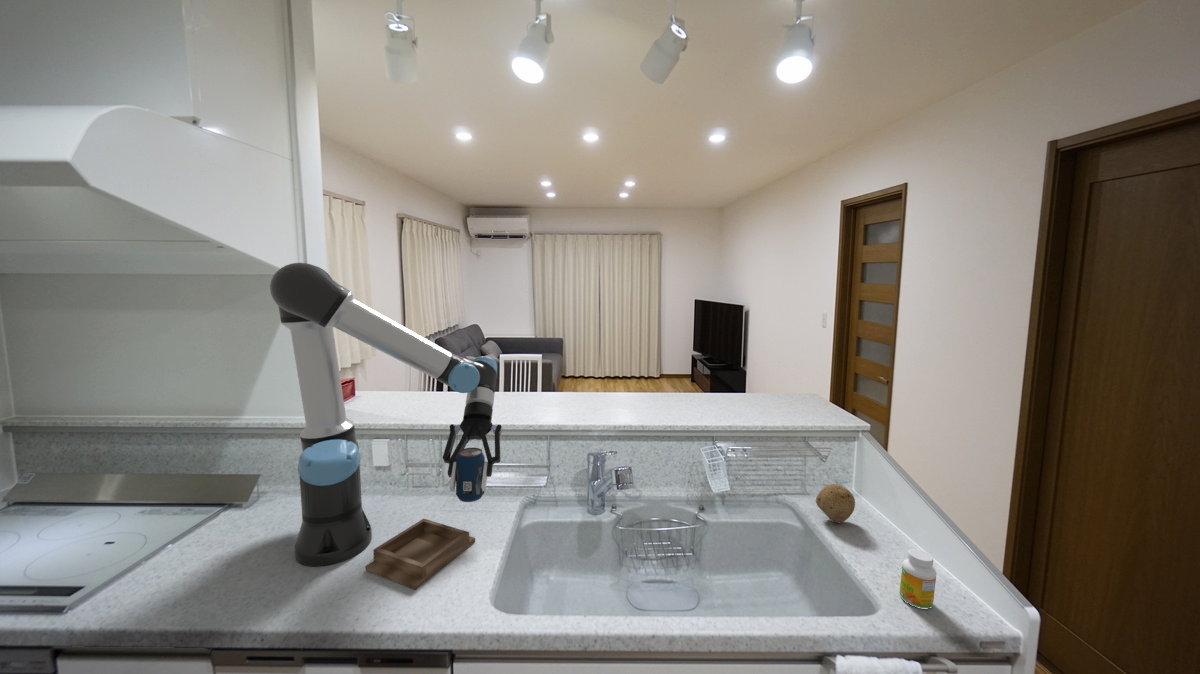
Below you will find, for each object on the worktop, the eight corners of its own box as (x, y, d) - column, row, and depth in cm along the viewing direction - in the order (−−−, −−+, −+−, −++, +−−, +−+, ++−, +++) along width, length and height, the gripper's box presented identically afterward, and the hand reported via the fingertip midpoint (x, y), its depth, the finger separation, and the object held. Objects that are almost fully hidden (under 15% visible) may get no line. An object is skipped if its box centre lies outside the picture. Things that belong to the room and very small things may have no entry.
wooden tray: (365, 570, 92) (365, 554, 92) (430, 527, 109) (429, 514, 108) (415, 589, 87) (414, 573, 86) (475, 541, 103) (474, 527, 103)
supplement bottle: (892, 591, 88) (897, 546, 87) (917, 590, 89) (922, 546, 87) (913, 611, 83) (918, 563, 82) (940, 610, 83) (945, 563, 82)
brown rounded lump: (809, 519, 115) (812, 483, 114) (822, 508, 121) (825, 474, 120) (846, 534, 108) (850, 496, 107) (858, 522, 114) (862, 485, 113)
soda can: (460, 490, 114) (460, 446, 113) (486, 490, 115) (487, 446, 113) (452, 503, 107) (452, 456, 106) (481, 503, 108) (481, 457, 106)
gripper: (515, 413, 125) (509, 494, 111) (444, 413, 123) (429, 495, 109) (514, 400, 120) (507, 483, 105) (439, 400, 117) (422, 484, 103)
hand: (467, 489), depth 107 cm, fingers closed on soda can, 7 cm apart
